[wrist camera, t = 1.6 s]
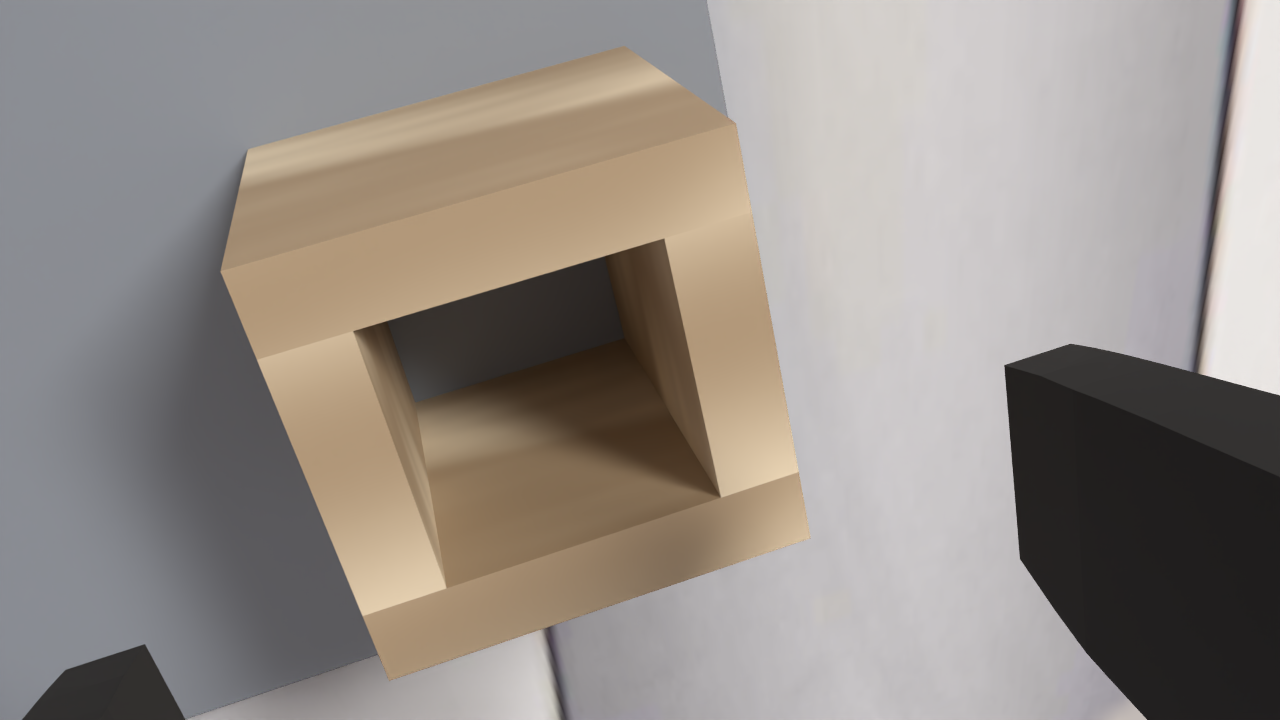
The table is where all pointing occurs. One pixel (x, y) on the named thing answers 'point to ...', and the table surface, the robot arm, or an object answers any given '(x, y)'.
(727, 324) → the birch collar
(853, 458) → the table surface
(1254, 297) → the table surface
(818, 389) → the table surface
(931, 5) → the table surface
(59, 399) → the slate board
